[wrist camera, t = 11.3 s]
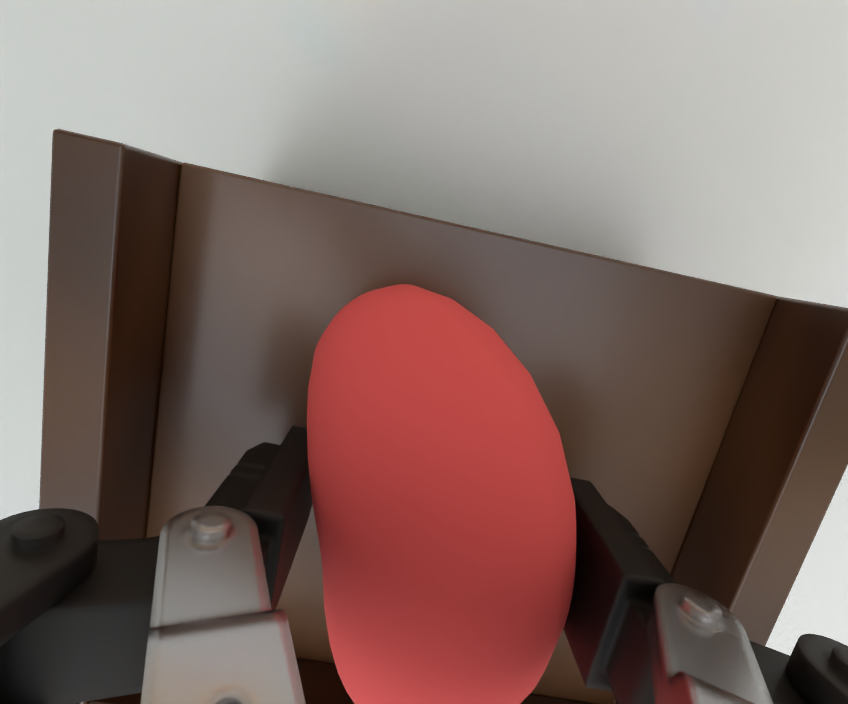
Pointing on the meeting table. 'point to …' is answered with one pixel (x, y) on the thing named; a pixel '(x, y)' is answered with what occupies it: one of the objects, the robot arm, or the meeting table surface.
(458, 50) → the meeting table surface
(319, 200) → the rack
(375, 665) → the red rounded oblong piece
